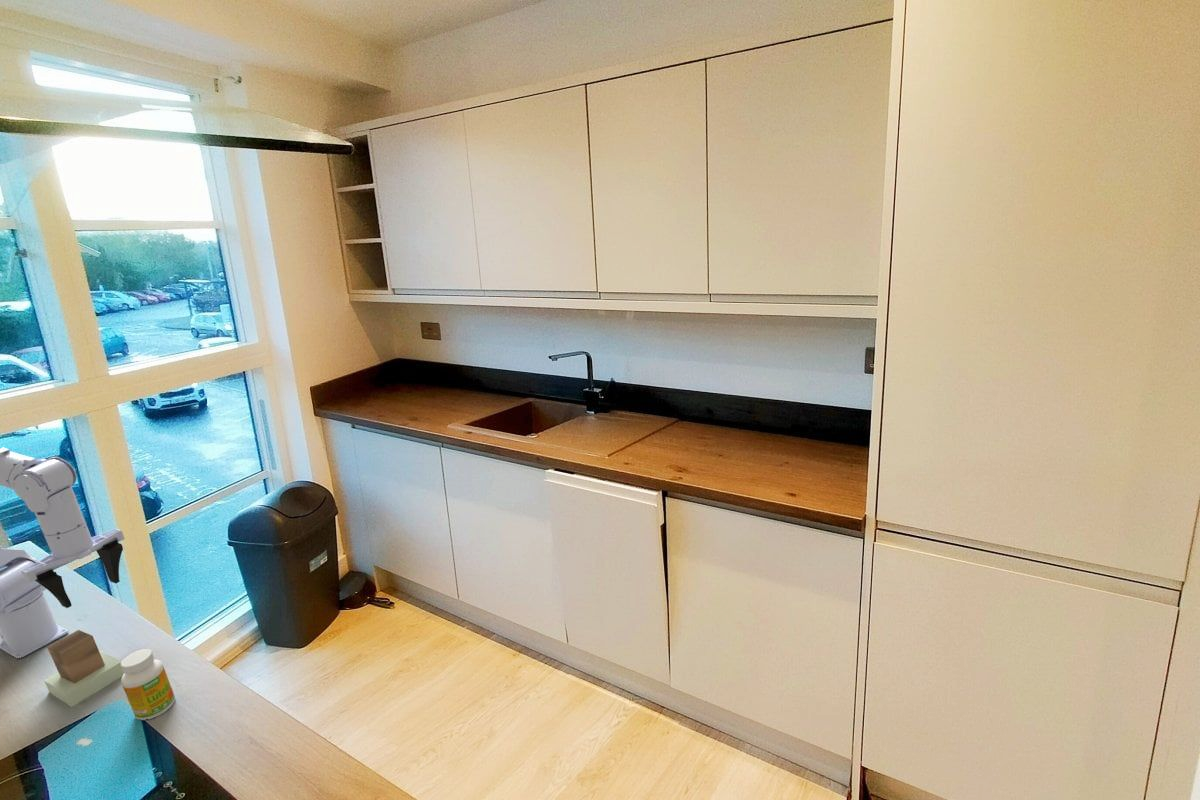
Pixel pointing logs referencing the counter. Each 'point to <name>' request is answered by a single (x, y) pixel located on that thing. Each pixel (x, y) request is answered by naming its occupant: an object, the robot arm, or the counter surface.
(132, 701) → the supplement bottle
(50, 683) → the sage block
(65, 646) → the walnut block
